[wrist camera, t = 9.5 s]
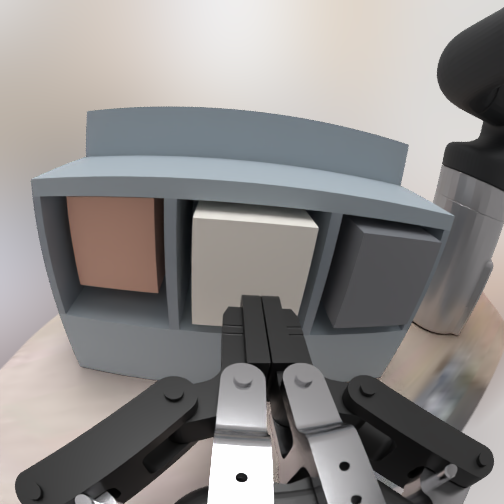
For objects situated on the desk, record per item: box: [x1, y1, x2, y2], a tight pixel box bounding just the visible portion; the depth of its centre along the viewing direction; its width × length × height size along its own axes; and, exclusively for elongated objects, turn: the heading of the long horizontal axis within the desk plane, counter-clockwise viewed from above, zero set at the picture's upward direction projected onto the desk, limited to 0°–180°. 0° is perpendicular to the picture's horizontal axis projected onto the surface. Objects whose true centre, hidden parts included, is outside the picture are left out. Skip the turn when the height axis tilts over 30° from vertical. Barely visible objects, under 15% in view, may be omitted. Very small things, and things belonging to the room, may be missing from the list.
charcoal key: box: [321, 214, 442, 328], centre depth 17 cm, size 5×6×6 cm
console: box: [31, 107, 455, 384], centre depth 19 cm, size 9×25×18 cm, turn 94°
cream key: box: [192, 200, 319, 326], centre depth 16 cm, size 5×6×6 cm
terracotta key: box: [66, 196, 165, 293], centre depth 17 cm, size 5×6×6 cm
